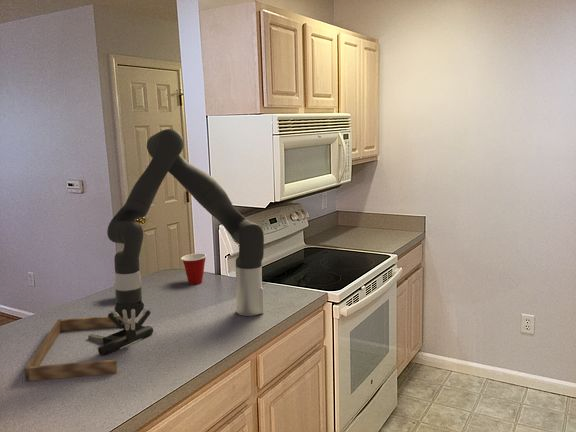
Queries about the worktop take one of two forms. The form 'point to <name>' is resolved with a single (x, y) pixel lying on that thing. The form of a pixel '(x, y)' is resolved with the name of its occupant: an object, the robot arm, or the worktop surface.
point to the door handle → (119, 339)
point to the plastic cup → (194, 267)
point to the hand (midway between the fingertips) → (131, 340)
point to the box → (70, 369)
